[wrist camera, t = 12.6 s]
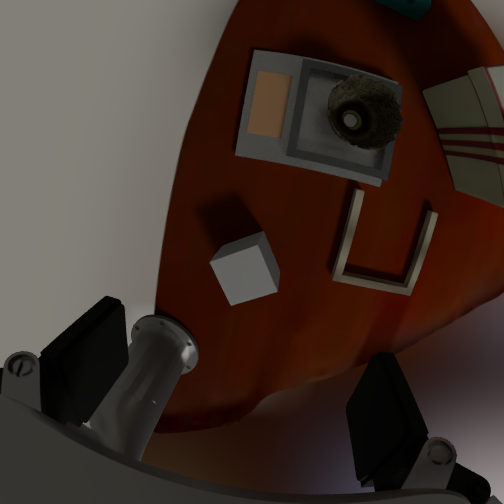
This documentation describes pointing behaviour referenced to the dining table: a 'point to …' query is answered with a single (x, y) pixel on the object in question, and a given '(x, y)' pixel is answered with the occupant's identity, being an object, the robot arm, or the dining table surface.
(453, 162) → the gift box
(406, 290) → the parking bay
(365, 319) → the dining table surface
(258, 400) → the dining table surface
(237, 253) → the white cube
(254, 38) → the dining table surface
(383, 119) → the cup
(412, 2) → the bracket
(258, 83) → the grey flat rectangular tray
